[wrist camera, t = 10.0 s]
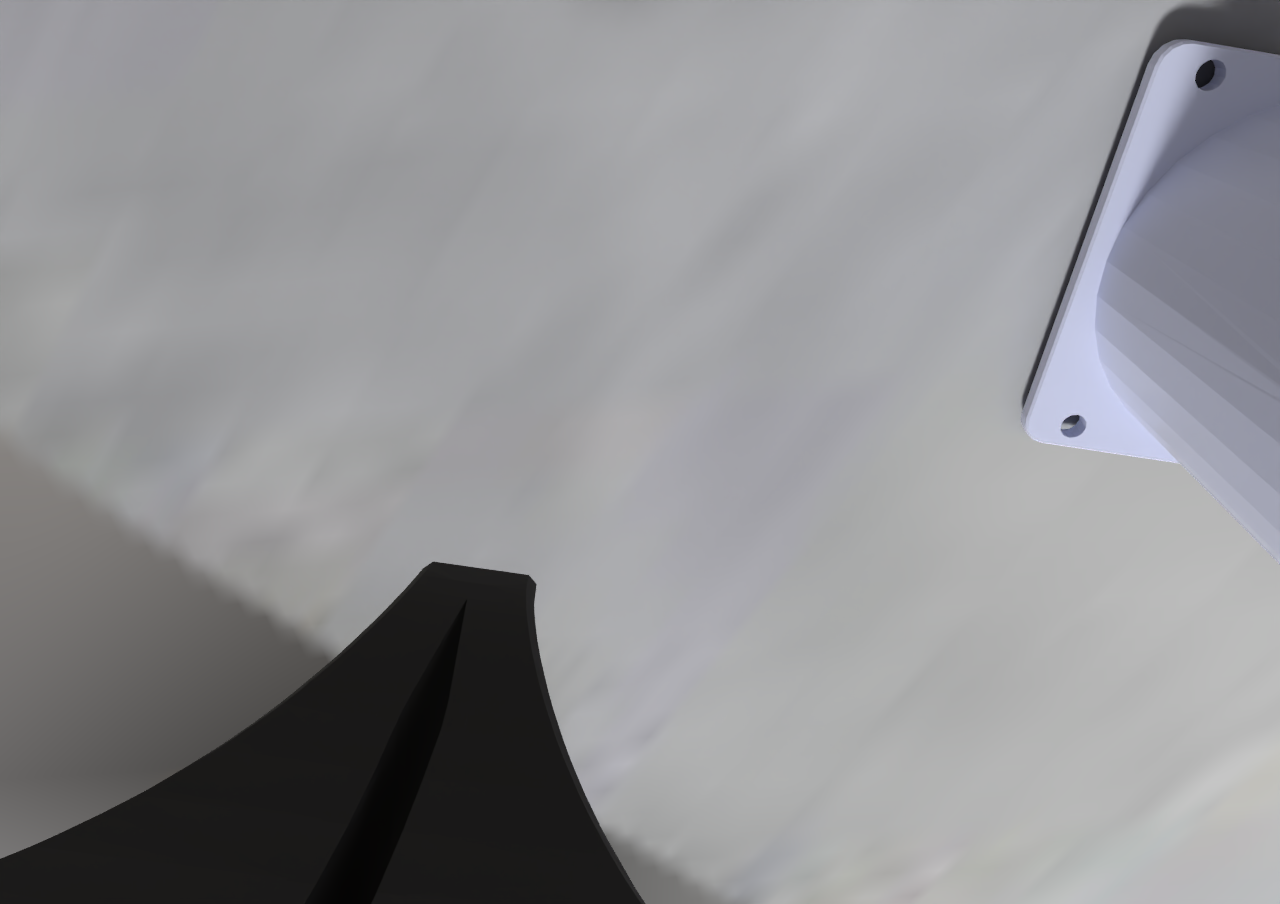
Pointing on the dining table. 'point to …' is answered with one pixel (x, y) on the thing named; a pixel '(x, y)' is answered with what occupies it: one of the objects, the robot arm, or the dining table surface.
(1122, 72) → the dining table surface
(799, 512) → the dining table surface
